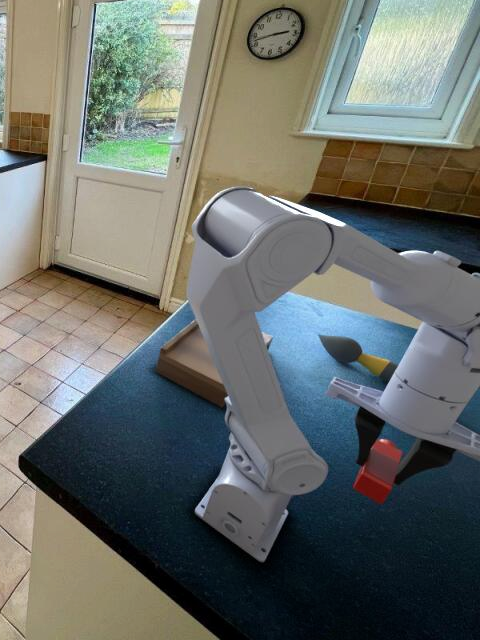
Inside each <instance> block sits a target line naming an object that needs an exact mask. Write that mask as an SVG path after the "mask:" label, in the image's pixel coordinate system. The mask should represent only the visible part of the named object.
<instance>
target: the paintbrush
mask: <svg viewBox="0 0 480 640" xmlns="http://www.w3.org/2000/svg"><path fill="white" fill-rule="evenodd" d="M317 336H318V339H319V341H320V343H321V345H322V346H323V348H324V350H325V351H326V352H327V353H328V355H329V356H330V357H331V358H332V359H333V360H335V361H337V362H340V363H343V364H345V363H346V364H349V363H356V362H357V363H359V364H360V365H361V366H362V367H364V368H365V369H366V370H368V372H370V373H372V374H373V375H374V376H375V377H377V378H379V379H381V380H383V381H384V382H386V383H387V384H388V383H389V381H390V380H391V378H392V376H393V374H394V372H395V370H396V369H397V367H398V365H399V363H397V362H394V361H392V360H388V359H386V358H382V357H379V356H376V355H372V354H367V353H363V348H362V346H361V345H360V343H359V342H358V341H357V340H356V339H353V338H351V337H350V336H349V337H348V336H344V335H343V336H341V335H326V334H325V335H324V334H319V333H318V334H317Z"/></svg>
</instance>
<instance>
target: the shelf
mask: <svg viewBox="0 0 480 640" xmlns="http://www.w3.org/2000/svg"><path fill="white" fill-rule="evenodd" d="M261 333H262V335H263V338H264V341H265V344H266V347H267V350H268V351H269V350H270V347H271V346H272V345H271V344H272V342H273V340H274V336H273V335H271V334H270V333H269V334H268V333H266V332H263V331H261ZM154 372H156V373H157V374H159V375H161V376H163V377H165V379H168V380H170V381H172V382H174V383H176V384H177V385H179V386H181V387H183V388H185V389H187V390H188V391H191V392H192V393H194V394H196V395H198V396H199V397H202V398H203V399H205V400H206V401H209V402H210V403H213V404H215V405H216V406H218V407H220V408H223V407H225V405H226V402H225V400H224V399H225V398H226V397H228V394H227V392H226V389H225V387H224V385H223V382H222V380H221V377H220V375H219V373H218V370H217V368H216V365H215V363H214V361H213V358H212V356H211V354H210V351H209V349H208V346H207V344H206V342H205V339H204V337H203V334H202V332H201V330H200V327H199V325H198V323H197V320H196V318H195V319H194V320H193V321H191V323H189V324H188V325H187V326H185V327H184V328H183V329H182V330H180V331H179V333H176V334H175V335H174V336H173V337H172V338H171V339H170V340H168V341H167V342H166V343H165V344H163V345H162V346H161V347H160V351H159V354H158V358H157V362H156V366H155V371H154Z"/></svg>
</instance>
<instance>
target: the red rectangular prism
mask: <svg viewBox="0 0 480 640" xmlns="http://www.w3.org/2000/svg"><path fill="white" fill-rule="evenodd" d="M397 448H398V447H397V445H396V444H395V442H392V441H391V440H389V439H385V438H380V439H377V440H376V442H375V443H374V445H373V447H372V448H371V450H370V452H369V455H368V458H367V460H366V462H365V463H364V465H363V466H360V468H359V471H358V473H357V475H356V478H355V481H354V483H353V487H352V489H353V490H355V491H356V492H358V493H360V494H361V495H363V496H365V497H367V498H369V499H370V500H373V501H375V502H376V503H378V504H380V505H383V503H384V502H385V500H386V499H387V497H388V496H389V494H390V492H391V491H392V490H393V487H394V484H395V483H394V481H395V478H396V473H397V470H398V467H399V464H400V462H401V459H402V456H403V451H402V450H400V449H397Z"/></svg>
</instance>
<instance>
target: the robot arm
mask: <svg viewBox="0 0 480 640" xmlns="http://www.w3.org/2000/svg"><path fill="white" fill-rule="evenodd" d="M191 231H192V236H193V242H194V247H193V253H192V258H191V263H190V267H189V274H188V277H187V284H186V289H185V293H186V299H187V301H188V303H189V306H190V308H191V311H192V313H193V315H194V317H195V319H196V320H197V323H198V325H199V327H200V330H201V332H202V334H203V337H204V339H205V342H206V344H207V346H208V349H209V351H210V354H211V356H212V358H213V361H214V363H215V365H216V368H217V370H218V373H219V375H220V377H221V380H222V382H223V385H224V387H225V389H226V392H227V394H228V397H226V398H225V399H224V400H225V402H226V403H225V405H226V411H225V415H224V422H225V425H226V427H227V428H228V429H229V431H230V433H229V437H228V440H229V442H230V446H229V448H228V450H227V453H226V456H225V459H224V461H223V464H222V466H221V469H220V472H219V474H218V476H217V478H216V479H215V481H214V482H213V484H212V485H211V486H210V487H209V489H208V490H207V492H206V493H205V494H204V497H203V498H202V499H201V501H200V502H199V503H198V505H197V506H196V507H195V509H194V514H195V515H196V516H197V517H199V518H200V519H201V520H202V521H204V522H205V523H206V524H208V525H209V526H211V527H212V528H213V529H215V530H216V531H217V532H219V533H220V534H222V535H223V537H225V538H227V539H228V540H230V541H231V542H232V543H234V544H235V545H237V546H238V547H239V548H240V549H242V550H243V551H244V552H246V553H247V554H249V555H250V556H251V557H252V558H254V559H255V560H257V561H258V562H260V563H264V562H265V561H266V560H267V557H268V555H269V554H270V551H271V550H272V547H273V546H274V543H275V541H276V540H277V538H278V535H279V533H280V531H281V529H282V528H283V527H282V526H283V525H284V523H285V521H286V519H287V517H288V515H289V511H288V509H287V507H288V505H289V503H290V501H291V500H292V497H293V496H301V495H305V494H308V493H310V492H313V491H315V490H317V489H318V488H319V487H321V485H322V484H324V482H325V480H326V478H327V476H328V474H329V473H328V472H329V467H328V463H327V462H326V461H325V460H324V458H323V457H321V456H320V455H318V454H317V452H315V450H314V449H312V446H311V444H310V443H309V441H308V439H307V438H306V436H305V435H304V434H303V432H302V430H301V429H300V428H299V426H298V425H297V423H296V421H295V420H294V418H293V417H292V416H291V413H290V410H289V407H288V405H287V402H286V399H285V396H284V393H283V390H282V387H281V385H280V382H279V378H278V376H277V373H276V370H275V367H274V364H273V361H272V359H271V356H270V353H269V350H267V347H266V344H265V341H264V338H263V335H262V333H261V332H262V329H261V327H260V325H259V321H258V319H257V316H256V314H255V313H256V312H257V313H260V312H262V311H263V310H265V309H266V308H268V307H269V306H271V305H272V304H273V303H275V302H276V301H278V299H280V298H281V297H283V296H284V295H285V294H287V293H288V292H289V291H291V290H292V289H294V288H295V287H296V286H298V285H299V284H300V283H302V282H303V281H304V280H306V279H307V278H309V276H311V275H312V274H313V273H314V274H315V275H317V276H322V275H324V274H326V273H327V272H328V270H329V269H330V268H332V266H333V265H336V266H337V267H340V268H342V269H345V270H346V271H349V272H351V273H353V274H356V275H357V276H360V277H363V278H364V279H366V280H368V281H370V288H371V291H372V293H373V295H374V296H375V297H376V298H377V299H378V300H379V301H380V302H382V303H384V304H386V305H388V306H390V307H392V308H394V309H397V310H399V311H400V312H403V313H404V314H406V315H409V316H411V317H413V318H414V319H417V320H419V321H421V324H420V326H419V327H418V329H417V331H416V333H415V335H414V336H413V338H412V340H411V342H410V344H409V346H408V348H407V349H406V351H405V353H404V354H403V357H402V358H401V360H400V362H399V363H398V367H397V369H396V370H395V372H394V374H393V376H392V378H391V380H390V381H389V383H388V382H387V385H386V387H385V389H384V391H383V390H379V389H376V388H372V387H369V386H364V385H362V384H359V383H358V384H357V383H354V382H351V381H348V380H345V379H342V378H339V377H338V376H334V377H333V378H332V380H331V382H330V384H329V386H328V387H327V390H326V391H325V396H327V397H329V398H331V399H333V400H337V399H340V400H343V401H344V402H347V403H349V404H352V405H353V406H356V407H358V409H357V412H356V414H355V416H354V426H355V429H356V432H357V438H358V439H357V440H358V452H357V453H358V454H357V458H356V461H355V464H357V465H358V466H360V467H361V466H363V465H364V463H365V462H366V460H367V458H368V455H369V452H370V450H371V448H372V447H373V445H374V443H375V442H376V440H379V437H380V436H381V434H382V431H383V429H384V427H385V425H386V423H387V424H389V425H391V426H392V427H394V428H396V429H398V430H399V431H401V432H404V433H405V434H408V435H410V436H413V437H416V439H415V441H414V443H413V444H412V446H411V448H410V450H409V451H408V452H407V454H406V455H405V456H404V457H403V458H402V460H400V464H399V467H398V470H397V473H396V478H395V481H394V484H395V485H397V486H400V485H401V484H403V483H404V482H405V481H406V480H409V479H410V478H411V477H413V476H415V475H417V474H420V473H423V472H425V471H428V470H431V469H436V468H437V469H438V468H442V467H446V466H447V465H449V464H450V463H451V462H452V461H453V458H454V454H455V452H458V453H461V454H462V455H465V456H468V457H470V458H472V459H474V460H476V461H478V462H480V434H478V433H476V432H474V431H473V430H471V429H469V428H467V427H465V426H463V425H461V424H460V423H458V422H456V421H457V420H458V418H459V417H460V415H461V414H462V413H463V411H464V410H465V408H466V406H467V405H468V403H470V400H471V399H472V397H473V396H474V395H475V393H476V392H477V390H478V389H479V387H480V273H479V272H473V273H472V274H471V273H469V272H467V271H465V270H463V269H461V268H459V266H460V265H461V264H462V261H461V259H459V258H457V257H455V256H452V255H450V254H448V253H446V252H443V251H440V250H435V251H434V252H433V253H430V252H426V251H421V250H407V251H401V252H396V251H395V250H393V249H391V248H390V247H388V246H387V245H385V244H382V243H381V242H379V241H377V240H375V239H374V238H372V237H370V236H369V235H367V234H365V233H363V232H361V231H360V230H359V229H357V228H354V227H353V226H351V225H349V224H347V223H345V222H342V221H341V220H338V219H336V218H333V217H331V216H329V215H326V214H324V213H322V212H320V211H317V210H315V209H311V208H309V207H306V206H303V205H301V204H298V203H295V202H292V201H289V200H286V199H284V198H280V197H276V196H274V195H268V197H267V196H265V195H263V193H261V192H259V191H258V190H257V189H254V188H252V187H250V186H245V185H240V186H239V185H238V186H237V185H236V186H231V187H228V188H225V189H223V190H221V191H219V192H217V194H215V195H214V196H212V198H210V199H209V200H208V201H207V203H206V204H205V206H204V207H203V208H202V210H201V211H200V212H199V214H198V215H197V217H196V219H195V220H194V221H193V223H192V224H191Z"/></svg>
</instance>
